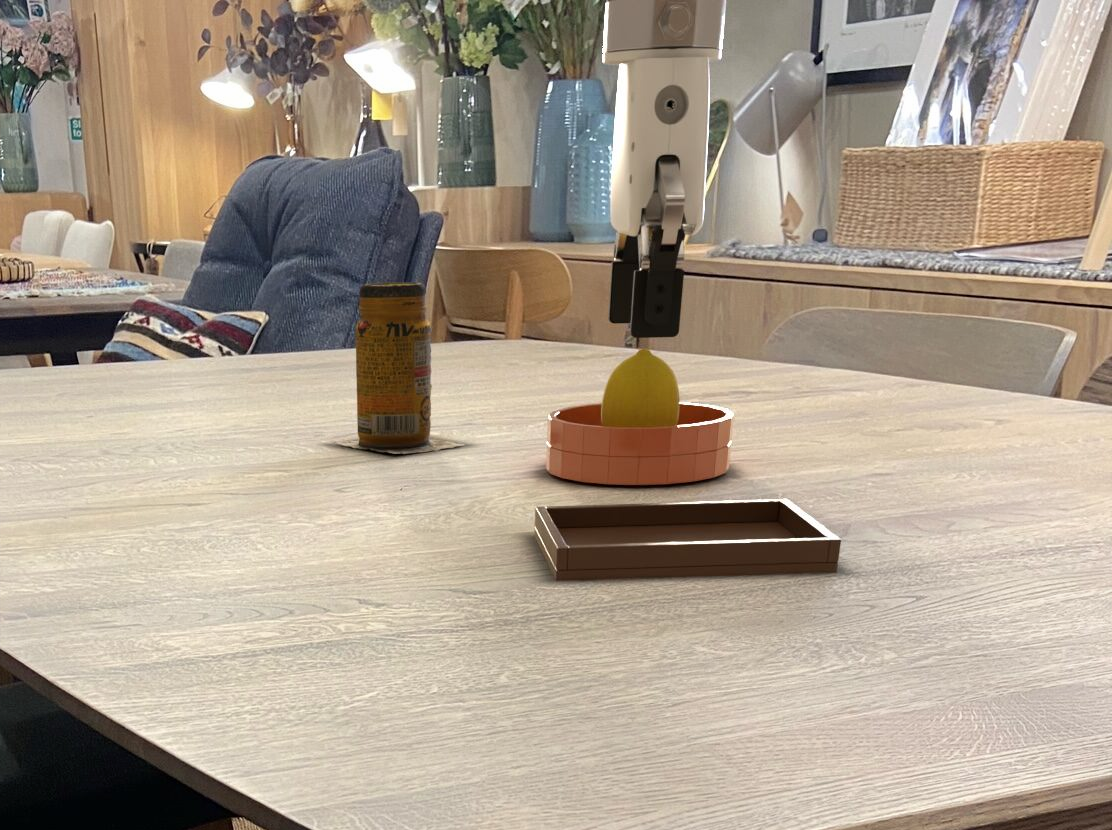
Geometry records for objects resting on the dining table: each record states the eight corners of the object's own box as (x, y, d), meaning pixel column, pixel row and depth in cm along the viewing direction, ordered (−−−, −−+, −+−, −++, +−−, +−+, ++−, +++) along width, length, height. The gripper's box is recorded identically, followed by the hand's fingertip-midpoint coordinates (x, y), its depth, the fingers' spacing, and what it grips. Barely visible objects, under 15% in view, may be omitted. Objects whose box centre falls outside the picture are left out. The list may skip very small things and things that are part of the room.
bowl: (706, 454, 111) (711, 399, 109) (745, 486, 100) (752, 424, 98) (537, 460, 111) (539, 404, 109) (557, 492, 100) (560, 430, 98)
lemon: (592, 463, 108) (598, 345, 104) (666, 460, 108) (675, 343, 104) (604, 476, 103) (611, 354, 99) (682, 473, 103) (692, 351, 99)
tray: (784, 529, 88) (787, 498, 87) (836, 573, 78) (841, 539, 77) (534, 537, 88) (535, 506, 87) (555, 582, 78) (557, 548, 77)
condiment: (404, 435, 123) (402, 279, 117) (466, 447, 117) (467, 282, 111) (333, 445, 120) (328, 285, 114) (394, 458, 114) (391, 289, 108)
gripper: (753, 23, 85) (722, 342, 93) (694, 43, 100) (672, 316, 108) (625, 26, 85) (606, 344, 93) (586, 46, 100) (572, 319, 108)
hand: (641, 329), depth 101 cm, fingers open, 9 cm apart
